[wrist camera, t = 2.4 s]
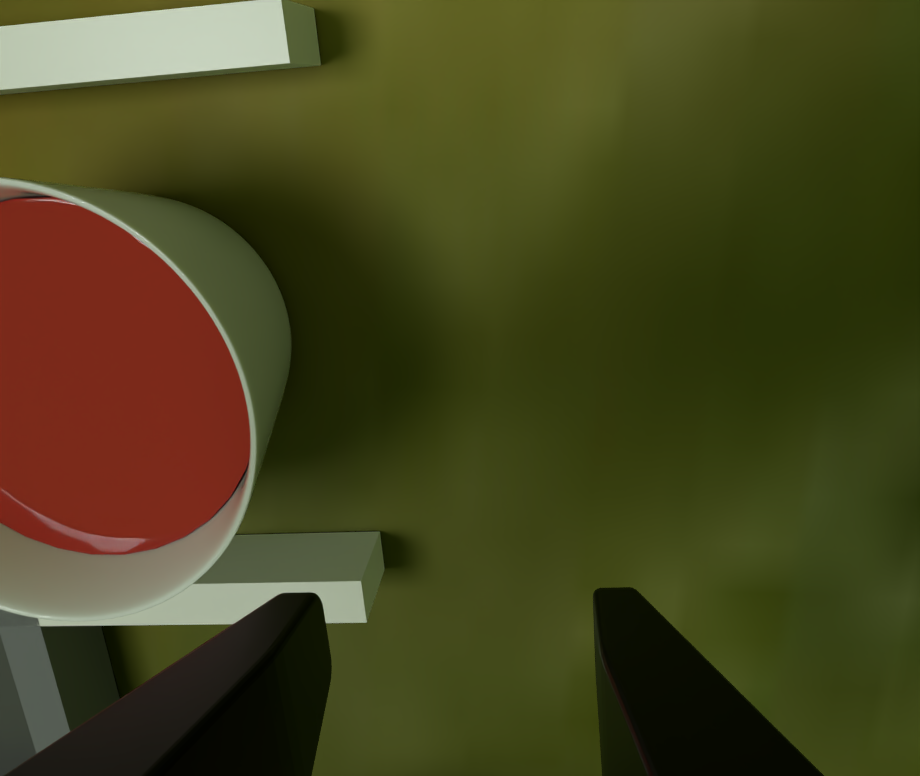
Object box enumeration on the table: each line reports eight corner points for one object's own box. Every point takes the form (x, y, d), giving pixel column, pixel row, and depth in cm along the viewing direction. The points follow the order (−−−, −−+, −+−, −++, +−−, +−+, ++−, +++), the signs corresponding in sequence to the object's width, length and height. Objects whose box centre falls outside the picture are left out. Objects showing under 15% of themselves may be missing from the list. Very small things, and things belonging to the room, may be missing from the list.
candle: (181, 544, 24) (62, 694, 18) (-69, 312, 23) (-288, 394, 17) (408, 347, 22) (355, 447, 16) (145, 67, 20) (-25, 61, 14)
